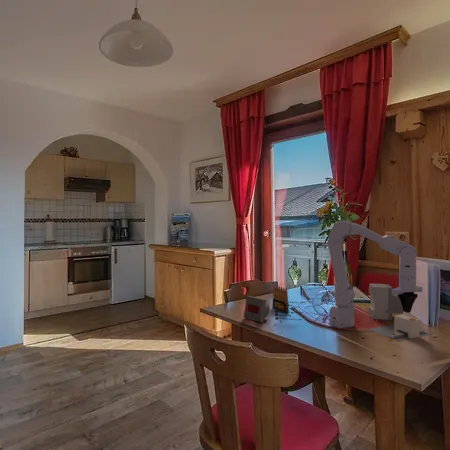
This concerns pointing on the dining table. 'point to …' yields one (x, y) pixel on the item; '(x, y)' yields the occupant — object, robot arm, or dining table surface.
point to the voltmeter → (261, 309)
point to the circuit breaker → (383, 302)
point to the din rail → (401, 334)
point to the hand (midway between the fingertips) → (406, 312)
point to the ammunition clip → (280, 299)
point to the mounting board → (390, 329)
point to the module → (407, 325)
